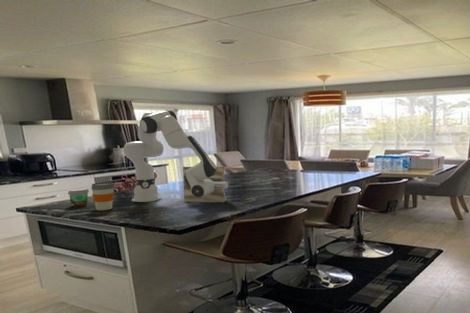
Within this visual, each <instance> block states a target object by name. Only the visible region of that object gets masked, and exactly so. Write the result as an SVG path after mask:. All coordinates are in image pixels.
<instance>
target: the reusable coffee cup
mask: <svg viewBox="0 0 470 313" xmlns="http://www.w3.org/2000/svg"><path fill="white" fill-rule="evenodd" d="M114 189H115V184H114V182H112V181H110V182H109V181H104V182H96V183H92V184H91V192H92V198H93V202H94V205H95V210H96V211H107V210H111V209H113V201H114V196H115V191H114Z"/></svg>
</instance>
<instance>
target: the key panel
mask: <svg viewBox="0 0 470 313" xmlns="http://www.w3.org/2000/svg"><path fill="white" fill-rule="evenodd" d="M191 167H192V166H182V175H183V176H182V177H183V181H182V182H183V197H184V199H183V200H184V202H186V203H191V202H193V203H225V202H226V201H227V196H226V189H215V190H214V192H213V193H211V194H209V195H207V196H205V197H203V198H197V197H195V196H193V195H192V193H191V188H190V187H185V179H184V175H185V171H186V170H187V169H189V168H191ZM216 167H217V169H216V173H215V175H214V176H211V177H209V178H208V179H211V178H220V182H225V166H224V165H216Z"/></svg>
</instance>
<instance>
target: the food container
mask: <svg viewBox="0 0 470 313" xmlns="http://www.w3.org/2000/svg"><path fill="white" fill-rule="evenodd" d="M89 192H90V191H89V189H88V188H86V189H84V190H83V189H82V190H81V189H80V190H79V189H78V190H68V192H67V195H68V196H69V200H70V206H71V207H72V206H74V207H73V208H78V207H77V206H80V207H86V206H87V205H88V198H89V196H88V195H89ZM85 205H86V206H85Z"/></svg>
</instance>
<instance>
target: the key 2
mask: <svg viewBox="0 0 470 313" xmlns="http://www.w3.org/2000/svg"><path fill="white" fill-rule="evenodd" d="M211 180H212V181H213V182H220V178H211Z"/></svg>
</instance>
